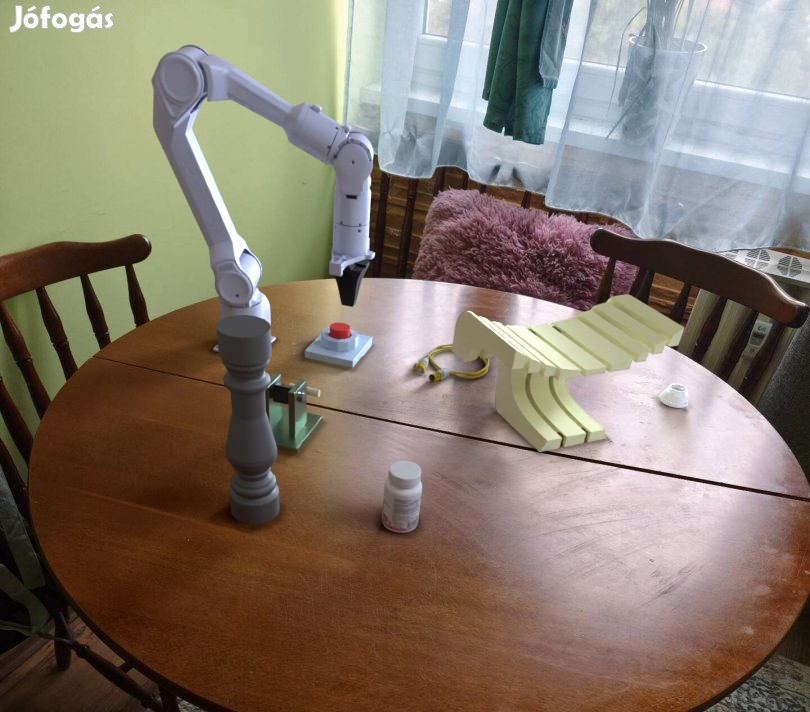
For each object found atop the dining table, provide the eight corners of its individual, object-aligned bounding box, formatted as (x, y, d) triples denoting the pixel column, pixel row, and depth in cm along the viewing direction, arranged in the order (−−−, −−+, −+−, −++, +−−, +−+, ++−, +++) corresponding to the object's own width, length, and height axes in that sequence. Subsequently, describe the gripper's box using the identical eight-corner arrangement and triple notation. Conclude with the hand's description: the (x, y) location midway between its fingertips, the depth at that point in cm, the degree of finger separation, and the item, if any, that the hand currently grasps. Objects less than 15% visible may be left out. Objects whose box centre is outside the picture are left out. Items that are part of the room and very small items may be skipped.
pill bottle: (380, 510, 92) (384, 457, 86) (415, 511, 92) (422, 458, 87) (382, 533, 88) (387, 480, 83) (419, 534, 89) (426, 481, 83)
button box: (326, 335, 131) (327, 317, 128) (371, 345, 129) (373, 327, 127) (304, 359, 123) (304, 340, 120) (352, 370, 121) (353, 351, 119)
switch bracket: (274, 411, 108) (272, 362, 103) (322, 422, 107) (323, 373, 102) (246, 443, 101) (242, 392, 95) (297, 455, 100) (296, 404, 94)
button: (333, 330, 126) (333, 320, 124) (352, 334, 125) (352, 324, 124) (326, 337, 123) (326, 328, 122) (345, 341, 122) (346, 332, 121)
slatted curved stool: (588, 385, 125) (617, 287, 114) (646, 430, 115) (684, 327, 103) (443, 409, 114) (458, 303, 102) (492, 461, 103) (516, 350, 92)
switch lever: (289, 394, 109) (291, 378, 108) (319, 401, 108) (321, 385, 107) (263, 399, 99) (265, 382, 98) (296, 406, 98) (298, 390, 98)
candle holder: (288, 504, 91) (283, 321, 75) (265, 532, 86) (255, 343, 70) (245, 492, 92) (232, 309, 76) (221, 518, 87) (201, 330, 71)
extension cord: (397, 355, 127) (398, 345, 126) (471, 346, 133) (473, 336, 132) (426, 387, 119) (427, 376, 118) (504, 375, 125) (506, 365, 124)
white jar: (666, 392, 126) (653, 401, 123) (671, 378, 124) (659, 386, 121) (691, 403, 123) (679, 412, 120) (697, 389, 121) (685, 397, 118)
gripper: (361, 238, 104) (357, 324, 113) (388, 213, 115) (382, 294, 124) (316, 230, 105) (316, 316, 114) (348, 206, 116) (345, 287, 125)
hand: (348, 304), depth 119 cm, fingers closed
